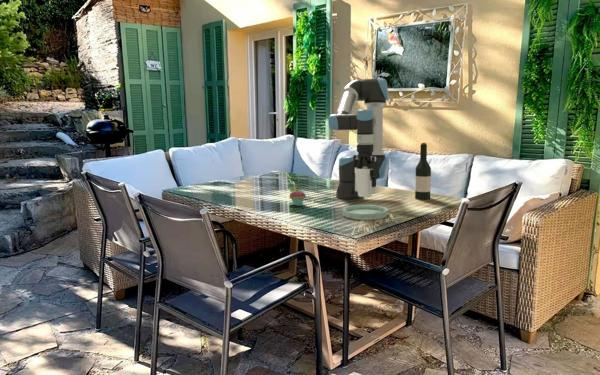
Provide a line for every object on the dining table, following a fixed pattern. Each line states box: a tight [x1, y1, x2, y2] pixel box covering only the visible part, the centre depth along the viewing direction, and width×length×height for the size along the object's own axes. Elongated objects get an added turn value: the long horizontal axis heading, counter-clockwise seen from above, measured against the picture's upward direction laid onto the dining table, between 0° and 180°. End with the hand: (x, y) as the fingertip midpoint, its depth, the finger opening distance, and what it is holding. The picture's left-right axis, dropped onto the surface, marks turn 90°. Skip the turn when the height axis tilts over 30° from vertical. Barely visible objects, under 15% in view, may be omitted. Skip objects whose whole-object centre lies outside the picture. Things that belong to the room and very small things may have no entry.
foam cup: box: [355, 167, 374, 198], centre depth 207 cm, size 10×9×13 cm
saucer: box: [342, 204, 389, 221], centre depth 209 cm, size 20×20×2 cm
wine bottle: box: [414, 142, 432, 201], centre depth 242 cm, size 8×8×30 cm
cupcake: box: [289, 182, 307, 206], centre depth 235 cm, size 9×8×12 cm
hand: (365, 192), depth 207 cm, fingers closed on foam cup, 9 cm apart
